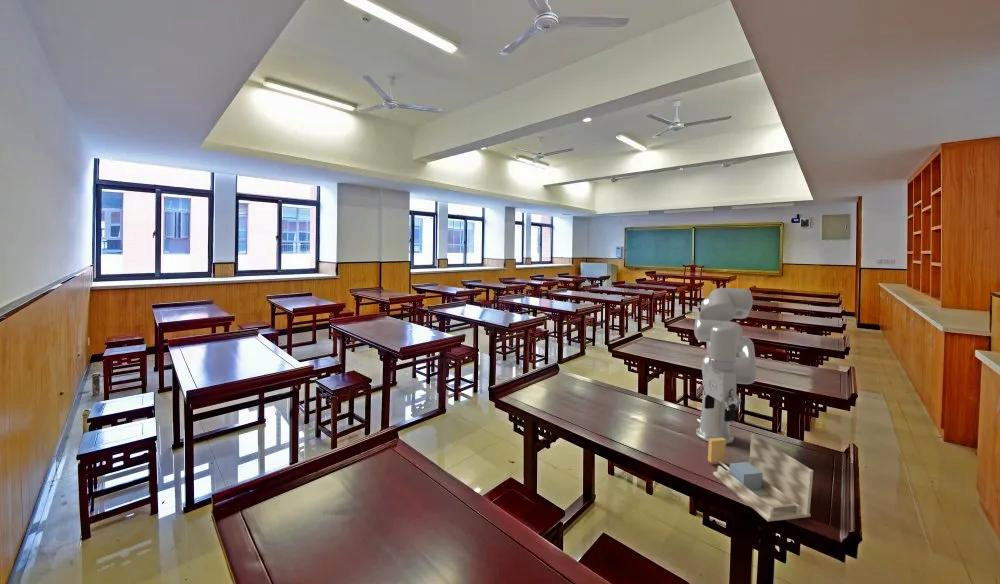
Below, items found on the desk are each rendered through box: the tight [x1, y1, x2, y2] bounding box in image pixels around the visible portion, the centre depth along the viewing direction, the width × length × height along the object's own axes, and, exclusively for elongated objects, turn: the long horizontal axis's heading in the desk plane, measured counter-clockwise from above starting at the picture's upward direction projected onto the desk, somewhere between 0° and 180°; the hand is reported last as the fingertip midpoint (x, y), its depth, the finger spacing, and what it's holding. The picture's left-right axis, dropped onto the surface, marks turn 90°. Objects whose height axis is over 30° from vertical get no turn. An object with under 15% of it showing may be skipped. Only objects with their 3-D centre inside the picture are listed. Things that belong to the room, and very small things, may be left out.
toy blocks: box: [707, 438, 763, 490], centre depth 127 cm, size 17×6×8 cm, turn 8°
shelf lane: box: [712, 433, 814, 522], centre depth 118 cm, size 22×13×13 cm, turn 8°
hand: (718, 414), depth 133 cm, fingers open, 9 cm apart
